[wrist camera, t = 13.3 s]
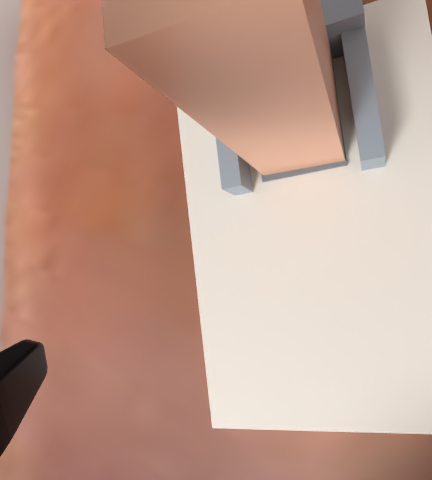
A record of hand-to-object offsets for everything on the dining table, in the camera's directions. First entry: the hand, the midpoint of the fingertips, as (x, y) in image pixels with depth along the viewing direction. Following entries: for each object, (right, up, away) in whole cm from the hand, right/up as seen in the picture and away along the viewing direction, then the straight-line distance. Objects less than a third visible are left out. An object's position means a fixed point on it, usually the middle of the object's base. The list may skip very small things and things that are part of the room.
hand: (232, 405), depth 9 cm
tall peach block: (+4, +10, +11) cm, 15 cm away
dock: (+5, +4, +12) cm, 14 cm away
